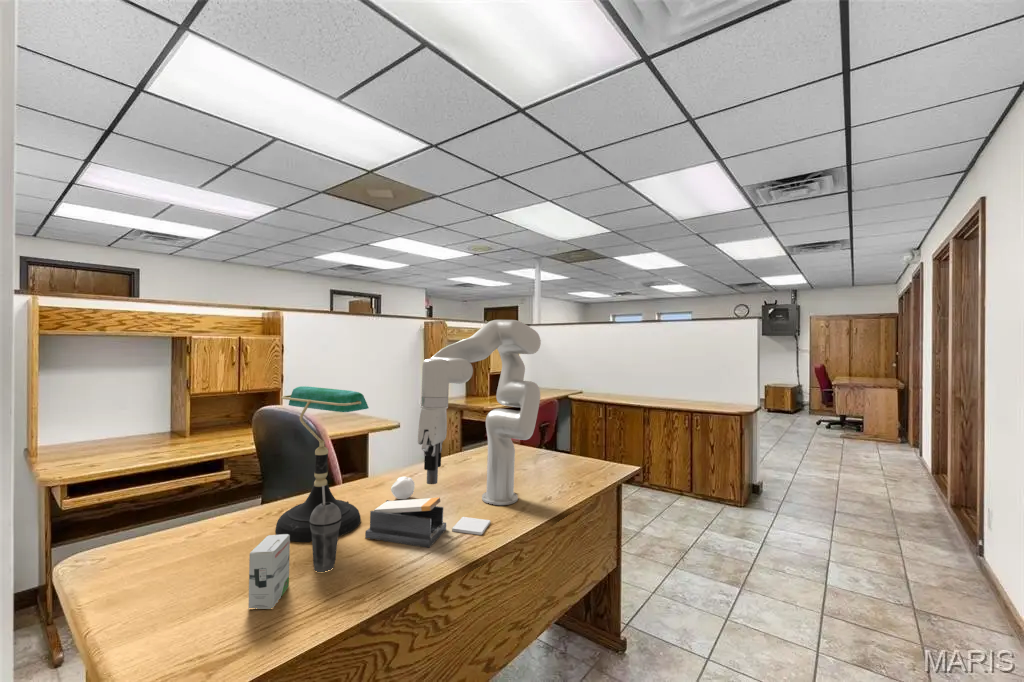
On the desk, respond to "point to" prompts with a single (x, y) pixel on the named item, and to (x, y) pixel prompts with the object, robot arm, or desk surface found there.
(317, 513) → the beverage cup
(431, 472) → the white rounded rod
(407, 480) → the white lumpy ball
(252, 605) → the ink box
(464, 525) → the mat
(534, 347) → the robot arm
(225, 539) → the desk surface
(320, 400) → the banker's lamp
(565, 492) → the desk surface
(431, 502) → the tilting box lid
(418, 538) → the tilting lid box
